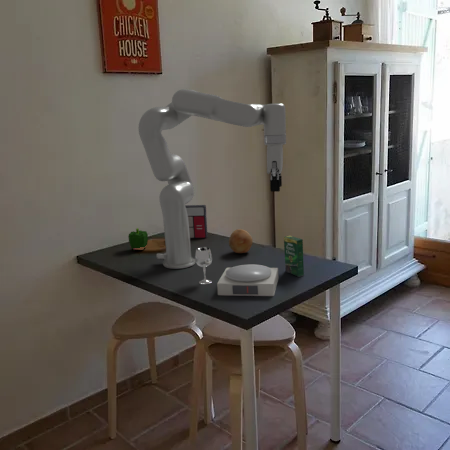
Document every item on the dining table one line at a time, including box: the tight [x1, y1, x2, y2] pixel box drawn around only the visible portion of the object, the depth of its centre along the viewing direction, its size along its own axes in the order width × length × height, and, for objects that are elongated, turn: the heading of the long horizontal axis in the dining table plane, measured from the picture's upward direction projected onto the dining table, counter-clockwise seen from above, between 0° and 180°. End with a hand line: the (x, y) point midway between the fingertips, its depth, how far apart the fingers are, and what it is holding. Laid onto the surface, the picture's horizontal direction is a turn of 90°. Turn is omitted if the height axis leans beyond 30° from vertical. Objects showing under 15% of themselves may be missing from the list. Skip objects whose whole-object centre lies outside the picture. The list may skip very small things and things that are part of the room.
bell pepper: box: [127, 227, 149, 250], centre depth 223 cm, size 8×8×10 cm
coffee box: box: [283, 235, 305, 278], centre depth 180 cm, size 8×3×13 cm, turn 28°
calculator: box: [185, 204, 208, 239], centre depth 237 cm, size 11×4×15 cm, turn 81°
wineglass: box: [194, 246, 213, 285], centre depth 177 cm, size 6×6×12 cm
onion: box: [228, 228, 254, 254], centre depth 209 cm, size 10×10×10 cm
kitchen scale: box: [216, 264, 279, 297], centre depth 170 cm, size 18×17×5 cm
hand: (276, 188), depth 182 cm, fingers open, 9 cm apart
